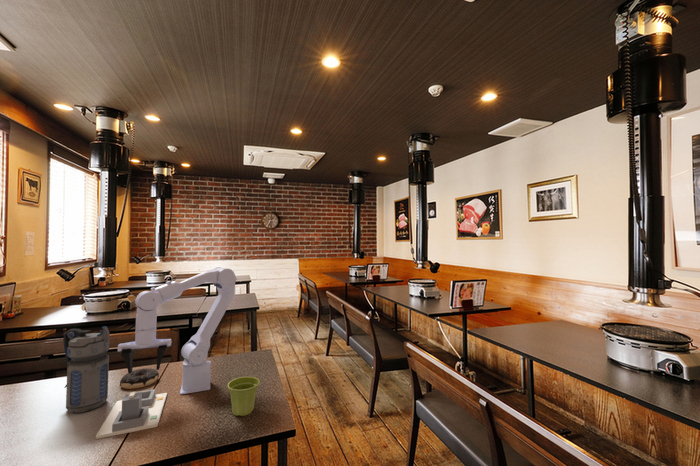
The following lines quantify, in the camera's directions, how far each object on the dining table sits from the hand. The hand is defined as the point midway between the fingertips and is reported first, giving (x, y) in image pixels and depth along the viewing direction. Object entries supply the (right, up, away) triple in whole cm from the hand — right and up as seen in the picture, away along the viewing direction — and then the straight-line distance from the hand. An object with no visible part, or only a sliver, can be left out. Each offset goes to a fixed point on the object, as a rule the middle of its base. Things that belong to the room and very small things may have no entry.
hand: (144, 370), depth 101 cm
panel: (+2, -10, -7) cm, 12 cm away
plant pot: (+34, -11, -5) cm, 36 cm away
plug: (+4, -9, -12) cm, 16 cm away
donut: (-11, -11, +14) cm, 21 cm away
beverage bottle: (-17, -11, -3) cm, 20 cm away
